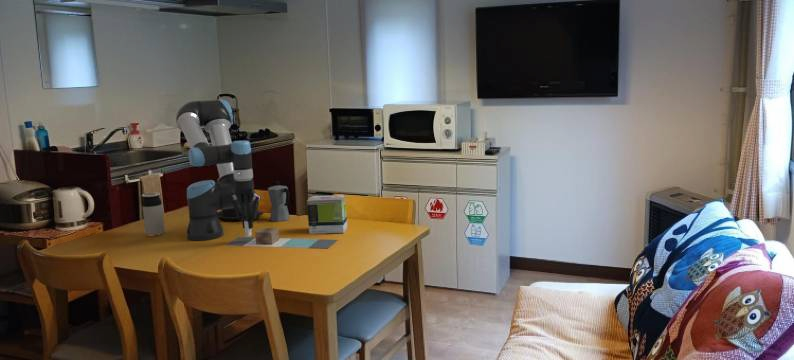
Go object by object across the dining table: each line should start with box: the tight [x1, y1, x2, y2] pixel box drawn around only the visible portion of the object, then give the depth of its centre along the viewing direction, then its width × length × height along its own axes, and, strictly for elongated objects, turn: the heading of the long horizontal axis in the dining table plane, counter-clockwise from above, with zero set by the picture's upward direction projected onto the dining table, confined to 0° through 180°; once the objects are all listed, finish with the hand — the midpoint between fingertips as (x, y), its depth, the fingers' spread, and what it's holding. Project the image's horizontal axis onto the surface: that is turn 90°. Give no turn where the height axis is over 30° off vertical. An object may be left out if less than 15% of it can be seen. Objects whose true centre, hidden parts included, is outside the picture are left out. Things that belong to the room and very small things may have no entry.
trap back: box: [225, 236, 255, 247], centre depth 271 cm, size 8×12×1 cm, turn 166°
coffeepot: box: [267, 181, 291, 223], centre depth 305 cm, size 15×9×18 cm, turn 43°
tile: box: [242, 237, 291, 248], centre depth 269 cm, size 16×12×1 cm
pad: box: [279, 238, 320, 249], centre depth 265 cm, size 12×12×1 cm
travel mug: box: [141, 192, 166, 236], centre depth 288 cm, size 8×8×18 cm
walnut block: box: [254, 227, 280, 245], centre depth 268 cm, size 7×7×5 cm
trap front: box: [308, 238, 339, 250], centre depth 263 cm, size 8×12×1 cm, turn 166°
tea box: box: [306, 194, 348, 235], centre depth 282 cm, size 15×10×15 cm
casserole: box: [217, 198, 265, 221], centre depth 314 cm, size 25×19×8 cm
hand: (248, 236), depth 270 cm, fingers closed
